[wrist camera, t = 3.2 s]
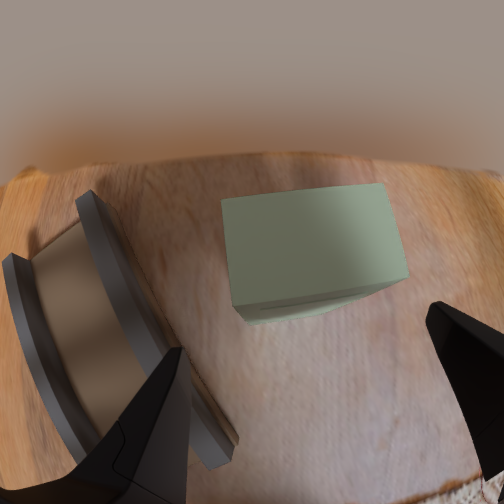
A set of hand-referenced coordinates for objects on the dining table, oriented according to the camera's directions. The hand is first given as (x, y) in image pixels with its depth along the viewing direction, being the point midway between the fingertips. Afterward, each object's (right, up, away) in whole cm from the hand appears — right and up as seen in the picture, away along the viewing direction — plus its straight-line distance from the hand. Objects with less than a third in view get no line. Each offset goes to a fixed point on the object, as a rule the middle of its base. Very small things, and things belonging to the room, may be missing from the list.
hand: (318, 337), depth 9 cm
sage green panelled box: (0, 0, +11) cm, 10 cm away
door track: (-13, -5, +10) cm, 17 cm away
